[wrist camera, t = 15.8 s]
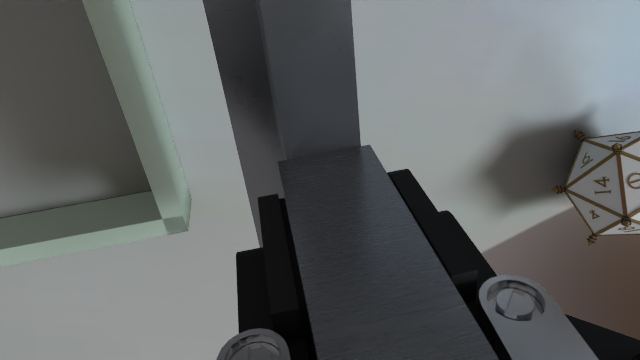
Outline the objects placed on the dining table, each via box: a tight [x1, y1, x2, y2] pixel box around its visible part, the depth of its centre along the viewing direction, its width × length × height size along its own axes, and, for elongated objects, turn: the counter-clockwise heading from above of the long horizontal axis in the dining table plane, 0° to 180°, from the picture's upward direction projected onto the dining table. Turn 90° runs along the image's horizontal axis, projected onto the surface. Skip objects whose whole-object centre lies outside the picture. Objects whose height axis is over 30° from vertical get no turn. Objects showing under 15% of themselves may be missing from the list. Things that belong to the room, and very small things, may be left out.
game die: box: [552, 131, 640, 245], centre depth 32 cm, size 9×8×10 cm
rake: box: [203, 0, 499, 360], centre depth 13 cm, size 4×14×13 cm, turn 6°
